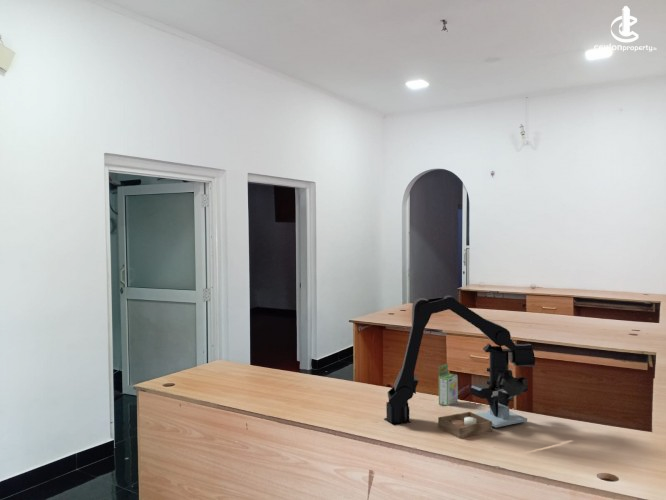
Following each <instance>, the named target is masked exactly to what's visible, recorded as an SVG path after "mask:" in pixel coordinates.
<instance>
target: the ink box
mask: <svg viewBox="0 0 666 500" xmlns="http://www.w3.org/2000/svg"><path fill="white" fill-rule="evenodd" d="M444 368H445V369H444ZM442 369H444V370H442ZM458 389H459V387H458V374H456V373H449V363H445V364H442V365H440V366H438V405H440V406H442V407H443V406H444V407H449V406H453V405H454V404H456V403H458V402H459V401H457V400H458V397H459V395H458V392H459V391H458Z"/></svg>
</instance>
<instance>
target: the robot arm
mask: <svg viewBox="0 0 666 500" xmlns="http://www.w3.org/2000/svg"><path fill="white" fill-rule="evenodd" d="M411 305H412V306H411V326H410V331H409V335H408V336H409V337H408V340H407V345H406V349H405V353H404V358H403V362H402V367H400V368H401V369H400V370H399V372H398V374H397V376H396V378H395V380H394V384H393V386H392V387H391V389H389V390H388V391H387V399H388V401H386V407H385V410H386V417H385V418H383V420H384V421H385V422H388V423H389V424H391V425H393V426H399V425H405V424H410V423H412V421H411V420H410V406H409V400H411V399H412V398H413V396H414V394H415V395H416V394H417V392H416V391H417V390H416V389H417V386H418V384H419V378H418V377H417V375H415V371H416V365H417V362H418V356H419V353H420V348H421V344H422V340H423V335H424V331H425V329H426V327H427V324H428V323H429V321H430V319H431V316H432V314H437V313H438V314H439V313H441V312H445V311H451V312H453V313H454V314H456V315H457V316H459V317H460V318H462V319H463V320H465V321H466V322H468V323H469V324H471V325H473V326H474V327H475V328H477V329H478V330H479V331H480V332H482V334H484V335H485V336H486V337H487V338H488V339H489V340H490V341H491V342H492V343H494V344H495V345H492V344H491V343H487V344H486V345H485V346H484V347H483V348H482V351H484V352H485V353H489V367H487V368H486V372H489V380H487V381H486V385H484V384H482V383H478V384H472V385H471V386H470V387H469V393H470V395H472V396H474V397H476V398H479V399H483V400H486V402H487V404H488V406H489V409H490V408H491V410H492V412H493V414H494V416H496V417H497V416H498V403H499V404H502V405H505V406H507V407H509V403H510V401H511V399H513V398H514V397H515V396H522V394H523V393H524V392H528V386H529V385H528V378H526V377H525V376H519V377H514V375H513V371H512V370H511V369H509V368H510V364H512V365H513V366H514V367H535V364H536V356H535V351H534V348H533V345H532V344H531V343H525V344H516V343H515V342H514V341H513V339H511V337H512V336H511V332H510V330H508V329H507V328H506V327H504V326H503V325H500V324H498V323H495V322H494V321H491V320H489V319H486V318H484V317H483V316H481V315H480V314H478V313H476V312H475V311H474V310H472V309H470V308H468V307H467V306H465V305H464V304H463V303H461V302H459V301H458V300H457V299H456V298H454V297H453V296H451V295H445V296H441V297H433V298H428V299H427V298H424V297H419V298H416V299H414V301H413V302H412V304H411ZM503 346H504V347H506V348H503ZM509 363H510V364H509ZM487 385H488V386H487Z"/></svg>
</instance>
